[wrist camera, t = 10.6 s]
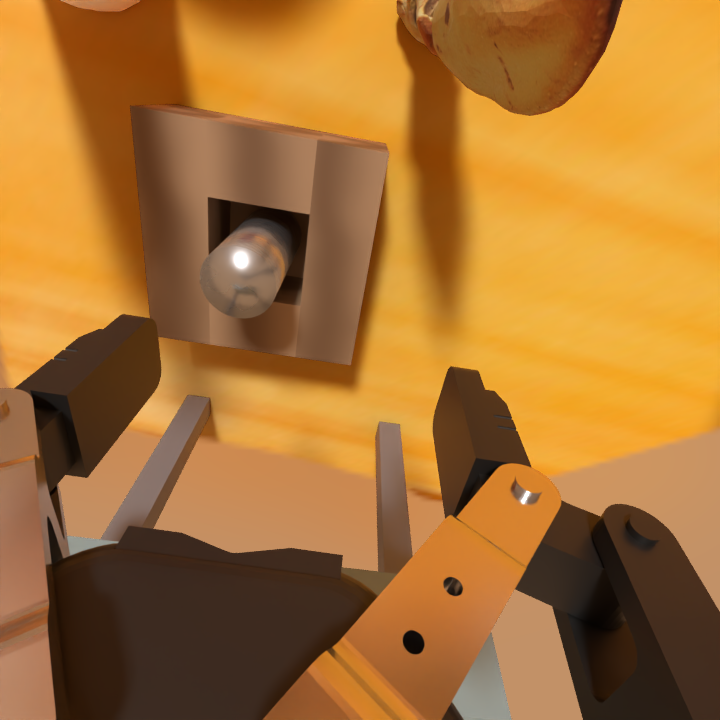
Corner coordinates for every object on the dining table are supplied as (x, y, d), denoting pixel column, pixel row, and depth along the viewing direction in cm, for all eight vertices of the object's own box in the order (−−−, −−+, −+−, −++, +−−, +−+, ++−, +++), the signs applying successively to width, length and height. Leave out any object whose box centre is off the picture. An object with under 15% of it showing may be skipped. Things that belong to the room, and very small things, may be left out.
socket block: (385, 143, 29) (389, 153, 24) (353, 327, 36) (350, 365, 31) (173, 104, 28) (129, 105, 23) (183, 301, 35) (151, 335, 30)
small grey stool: (426, 349, 37) (511, 720, 15) (399, 444, 43) (432, 817, 21) (177, 311, 36) (-134, 661, 14) (183, 415, 42) (-31, 783, 19)
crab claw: (472, 107, 28) (634, 123, 11) (392, 106, 28) (429, 123, 11) (488, -36, 24) (769, -345, 7) (397, -36, 25) (463, -341, 7)
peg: (304, 210, 31) (279, 253, 22) (298, 265, 33) (273, 324, 24) (247, 200, 30) (199, 239, 22) (244, 255, 32) (200, 311, 24)
